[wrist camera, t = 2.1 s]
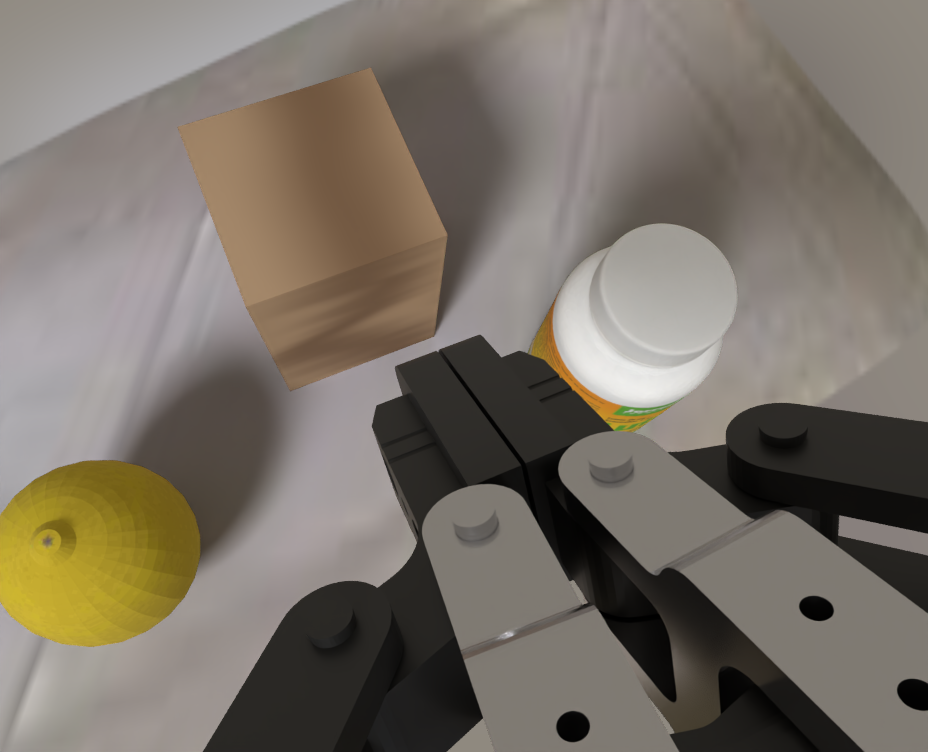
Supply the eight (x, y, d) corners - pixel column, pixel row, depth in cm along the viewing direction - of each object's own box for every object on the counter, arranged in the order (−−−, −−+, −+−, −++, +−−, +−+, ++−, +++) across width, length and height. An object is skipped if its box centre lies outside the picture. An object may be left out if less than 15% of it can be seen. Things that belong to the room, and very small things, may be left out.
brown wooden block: (290, 391, 30) (246, 306, 21) (239, 257, 31) (177, 126, 22) (434, 336, 31) (447, 235, 22) (378, 209, 32) (371, 67, 24)
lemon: (229, 624, 27) (162, 635, 20) (65, 651, 27) (-72, 673, 19) (217, 470, 29) (151, 423, 21) (61, 491, 28) (-66, 452, 20)
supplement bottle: (575, 474, 30) (656, 418, 20) (494, 362, 31) (535, 260, 21) (681, 398, 31) (803, 312, 22) (600, 293, 32) (683, 167, 23)
